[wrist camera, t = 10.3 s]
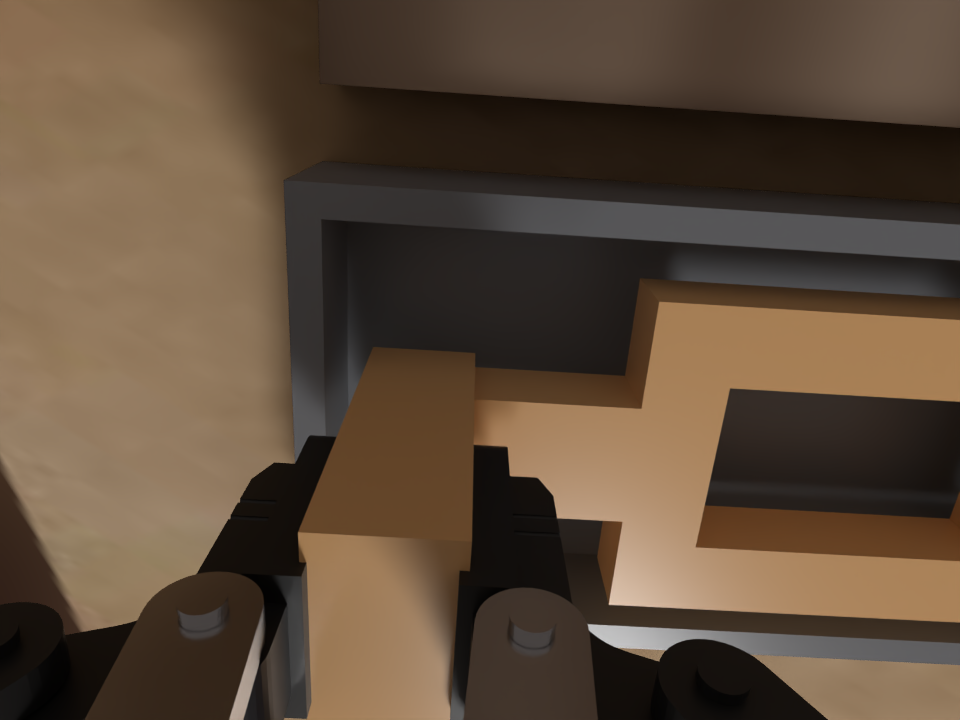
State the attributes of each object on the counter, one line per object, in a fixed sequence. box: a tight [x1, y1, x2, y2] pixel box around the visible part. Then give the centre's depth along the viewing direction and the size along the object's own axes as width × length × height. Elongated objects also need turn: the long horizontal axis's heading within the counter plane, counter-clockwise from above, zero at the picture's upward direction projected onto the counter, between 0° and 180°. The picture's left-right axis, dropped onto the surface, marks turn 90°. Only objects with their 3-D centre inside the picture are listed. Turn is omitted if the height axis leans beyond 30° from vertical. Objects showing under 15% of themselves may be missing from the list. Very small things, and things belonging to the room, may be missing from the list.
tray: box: [284, 161, 960, 665], centre depth 15 cm, size 17×10×3 cm, turn 86°
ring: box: [298, 278, 960, 720], centre depth 11 cm, size 14×6×6 cm, turn 86°
